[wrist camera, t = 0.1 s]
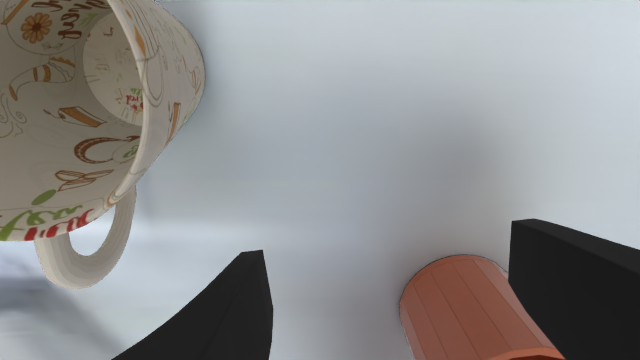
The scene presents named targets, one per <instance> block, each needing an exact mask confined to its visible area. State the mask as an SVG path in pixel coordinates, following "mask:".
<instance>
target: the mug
mask: <svg viewBox="0 0 640 360" xmlns="http://www.w3.org/2000/svg"><path fill="white" fill-rule="evenodd" d="M204 85H205V68H204V63H203V59H202V55H201V52H200V50H199V47H198V46H197V44H196V42H195V40H194V38H193V37H192V35H191V34H190V33H189V31H188V30H187V29H186V28H185V27H184V26H183V25H182V23H181V22H179V21H178V20H177V19H176V18H175V17H174V16H172V15H171V14H170V13H168V12H167V11H166V10H164V9H163V8H162V7H160V6H159V5H158V4H156V3H155V2H154V1H152V0H0V241H30V240H34V244H35V248H36V252H37V255H38V258H39V261H40V264H41V266H42V269H43V271H44V273H45V275H46V276H47V278H48V279H49V280H50V281H51V282H52V283H54V284H56V285H58V286H61V287H64V288H67V289H82V288H86V287H90V286H92V285H94V284H96V283H98V282H99V281H101V280H102V279H103V278H104V277H105V276H106V275H107V274H108V273H109V272H110V271H111V270H112V269H113V268H114V266H115V265H116V264H117V262H118V260H119V259H120V257H121V255H122V253H123V251H124V248H125V246H126V243H127V240H128V237H129V233H130V229H131V224H132V218H133V212H134V207H135V202H136V183H137V182H138V180H139V179H140V178H141V177H142V175H143V174H144V173H145V172H146V171H147V169H148V168H149V167H150V166H151V164H152V163H153V162H154V161H155V159H156V158H157V157H158V156H159V154H160V153H161V152H162V151H163V149H164V148H165V147H166V146H167V144H168V143H169V142H170V141H171V139H172V138H173V137H174V136H175V135H176V133H177V132H178V131H179V130H180V128H181V127H182V126H183V125H184V123H185V122H186V121H187V120H188V118H189V117H190V116H191V115H192V113H193V112H194V111H195V109H196V107H197V106H198V104H199V102H200V100H201V97H202V94H203V90H204ZM114 205H116V208H115V216H114V220H113V223H112V226H111V229H110V231H109V233H108V235H107V237H106V239H105V241H104V243H103V244H102V246H101V247H100V248H99V249H98V251H97V252H95V253H94V254H92V255H89V256H83V255H80V254H78V253H77V252H76V251H75V250H74V249H73V248H72V245H71V242H70V238H69V233H68V232H70V231H73V230H75V229H77V228H80V227H82V226H84V225H86V224H88V223H90V222H92V221H93V220H95V219H97V218H99V217H100V216H101V215H103V214H104V213H105V212H107V211H108V210H109V209H111V208H112V207H113V206H114Z"/></svg>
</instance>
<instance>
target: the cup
mask: <svg viewBox="0 0 640 360" xmlns="http://www.w3.org/2000/svg"><path fill="white" fill-rule="evenodd" d="M399 314H400V320H401V324H402V327H403V330H404V333H405V337H406V339H407V342H408V345H409V348H410V351H411V354H412V356H413V359H414V360H566V359H565V358H564V357H563V356H562V355H561V354H560V352H559V351H558V350H557V349H556V348H555V346H554V345H553V344H552V343H551V342H550V340H549V339H548V338H547V337H546V336H545V334H544V333H543V332H542V331H541V329H540V328H539V327H538V326H537V325H536V323H535V322H534V321H533V320H532V318H531V317H530V316H529V315H528V313H527V312H526V311H525V309H524V308H523V306H522V305H521V303H520V301H519V300H518V298H517V297H516V295H515V293H514V292H513V290H512V288H511V287H510V285H509V283H508V273H507V272H505V271H504V270H503V269H502V268H501V267H500V266H499V265H497V264H496V263H494V262H493V261H491V260H488V259H486V258H483V257H479V256H474V255H455V256H449V257H446V258H442V259H440V260H437V261H435V262H433V263H431V264H429V265H427V266H426V267H425V268H423V269H422V270H420V271H419V272H418V273H417V274H416V275H415V276H414V277H413V278H412V279H411V280H410V282H409V283H408V285H407V286H406V288H405V290H404V292H403V294H402V297H401V300H400V306H399Z"/></svg>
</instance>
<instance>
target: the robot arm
mask: <svg viewBox="0 0 640 360" xmlns="http://www.w3.org/2000/svg"><path fill="white" fill-rule="evenodd" d="M508 283H509V285H510V287H511V288H512V290H513V292H514V293H515V295H516V297H517V298H518V300H519V301H520V303H521V305H522V306H523V308H524V309H525V311H526V312H527V313H528V315H529V316H530V317H531V318H532V320H533V321H534V322H535V323H536V325H537V326H538V327H539V328H540V329H541V331H542V332H543V333H544V334H545V336H546V337H547V338H548V339H549V340H550V342H551V343H552V344H553V345H554V346H555V348H556V349H557V350H558V351H559V352H560V354H561V355H562V356H563V357H564V358H565V359H566V360H640V250H638V249H635V248H632V247H628V246H625V245H622V244H618V243H615V242H612V241H609V240H606V239H602V238H599V237H596V236H593V235H590V234H587V233H583V232H580V231H577V230H574V229H571V228H568V227H564V226H561V225H558V224H554V223H550V222H547V221H543V220H538V219H525V220H517V221H512V225H511V241H510V257H509V273H508ZM272 328H273V305H272V299H271V294H270V288H269V283H268V277H267V271H266V266H265V260H264V255H263V250H256V251H248V252H241V253H240V254H239V255H238V256H237V257H236V258H235V259H234V260H233V261H232V262H231V263H230V264H229V265H228V266H227V267H226V268H225V269H224V270H223V271H222V272H221V273H220V274H219V275H218V276H217V277H216V278H215V279H214V280H213V281H212V282H211V283H210V284H209V285H208V286H207V287H206V288H205V289H204V290H203V291H202V292H200V293H199V294H198V295H197V296H196V297H195V298H194V299H193V300H191V301H190V302H189V303H188V304H187V305H186V306H185V307H184V308H182V309H181V310H180V311H179V312H178V313H177V314H175V315H174V316H173V317H172V318H171V319H169V320H168V321H167V322H165V323H164V324H163V325H162V326H160V327H159V328H157V329H156V330H155V331H153V332H152V333H151V334H149V335H148V336H147V337H145V338H144V339H142V340H141V341H140V342H138V343H137V344H135V345H133V346H132V347H130V348H129V349H127V350H126V351H124V352H122V353H121V354H119V355H118V356H116V357H115V358H113V359H112V360H269V354H270V348H271V342H272Z"/></svg>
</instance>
